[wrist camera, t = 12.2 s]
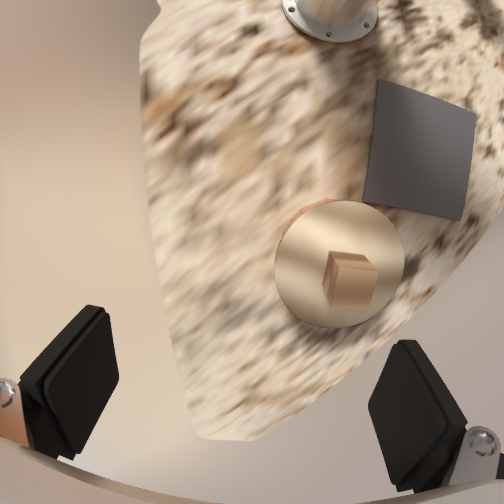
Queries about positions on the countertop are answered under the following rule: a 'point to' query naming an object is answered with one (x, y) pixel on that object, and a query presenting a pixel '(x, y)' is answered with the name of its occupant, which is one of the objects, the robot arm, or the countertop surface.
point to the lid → (338, 264)
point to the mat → (419, 152)
